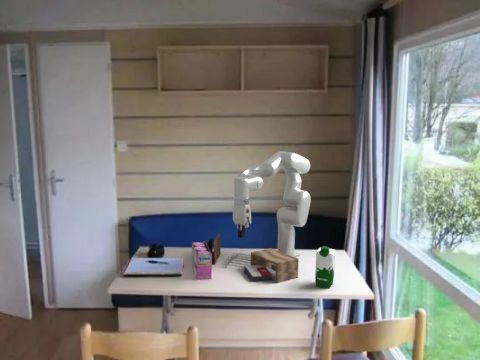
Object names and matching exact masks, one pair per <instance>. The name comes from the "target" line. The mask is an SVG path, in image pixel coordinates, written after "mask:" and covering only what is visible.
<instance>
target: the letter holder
mask: <svg viewBox="0 0 480 360" xmlns="http://www.w3.org/2000/svg"><path fill="white" fill-rule="evenodd" d="M206 244H207V246H208V248H209V250H210V251H211V253H212V266H215V265H216V263H217V261H218V259H219V258H220V255H221V254H222V253H221V233H217V235H215V238H213V237H211V238H210V239H209V240H208V241H207V242H206Z"/></svg>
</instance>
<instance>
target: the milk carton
mask: <svg viewBox="0 0 480 360" xmlns="http://www.w3.org/2000/svg"><path fill="white" fill-rule="evenodd" d="M335 263H336V249H335V248H334V249H333V248H330V247H329V246H325V245H324V246H320V247H319V248H318V249H317V250H316V254H315V272H314V273H315V274H314V275H315V277H314V279H315V280H314V281H315V282H314V283H315V287H316V288H317V287H318V288H325V289H329V290H330V288H331V287H332V286H331V285H334V278H335V277H334V276H335Z"/></svg>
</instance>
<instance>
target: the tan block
mask: <svg viewBox="0 0 480 360" xmlns="http://www.w3.org/2000/svg"><path fill="white" fill-rule="evenodd" d="M250 265H264V266H265V267H266V268H267V269H268V268H271V269H272V270H275V272H274V273H275V276H274V277H275V279H274V280H275V281H274V282H275V284H279V283H283V282H287V281H291V280H296V279H297V278H299V258H298V257H293V256H290V255H287V254H285V253H282V252H280V251H278V249H274V248H272V247H269V248H265V249H261V250H260V249H259V250H254V251H251V252H250Z"/></svg>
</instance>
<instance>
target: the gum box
mask: <svg viewBox="0 0 480 360" xmlns="http://www.w3.org/2000/svg"><path fill="white" fill-rule="evenodd" d="M191 267H192V270H193V273H194V276H195V280H197V281H203V280H212V279H213V278H212V270H213V265H212V253H211V251H210V250H209V248H208V246H207V242H206V241H205V240H204V241H202V242H199V241H198V242H194V241H191Z"/></svg>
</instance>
